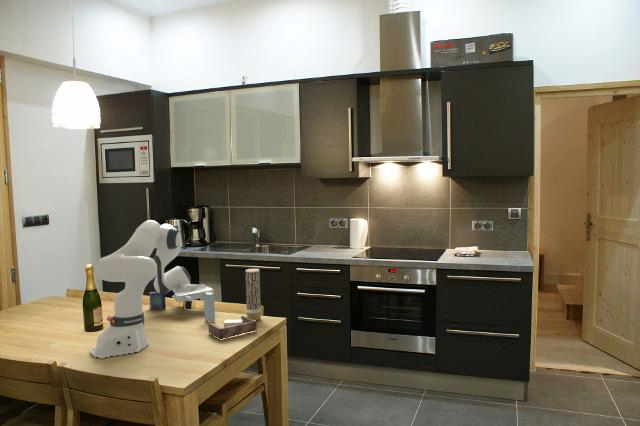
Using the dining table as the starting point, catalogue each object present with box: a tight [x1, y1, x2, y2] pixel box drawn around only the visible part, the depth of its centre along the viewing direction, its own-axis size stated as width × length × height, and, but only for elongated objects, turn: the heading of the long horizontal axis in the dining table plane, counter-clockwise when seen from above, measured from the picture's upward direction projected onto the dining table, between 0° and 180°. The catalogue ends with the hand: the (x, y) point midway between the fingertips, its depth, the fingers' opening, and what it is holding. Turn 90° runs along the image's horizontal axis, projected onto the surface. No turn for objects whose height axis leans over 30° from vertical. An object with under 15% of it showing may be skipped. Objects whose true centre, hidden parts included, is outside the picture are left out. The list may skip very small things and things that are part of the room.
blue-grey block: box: [203, 292, 216, 322], centre depth 246 cm, size 3×5×14 cm, turn 37°
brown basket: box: [207, 315, 257, 340], centre depth 227 cm, size 18×12×5 cm, turn 127°
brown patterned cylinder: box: [245, 268, 262, 321], centre depth 247 cm, size 7×7×25 cm
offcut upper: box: [223, 319, 243, 328], centre depth 227 cm, size 8×4×3 cm, turn 92°
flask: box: [148, 290, 167, 310], centre depth 271 cm, size 9×3×11 cm, turn 78°
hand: (199, 297), depth 256 cm, fingers open, 8 cm apart
